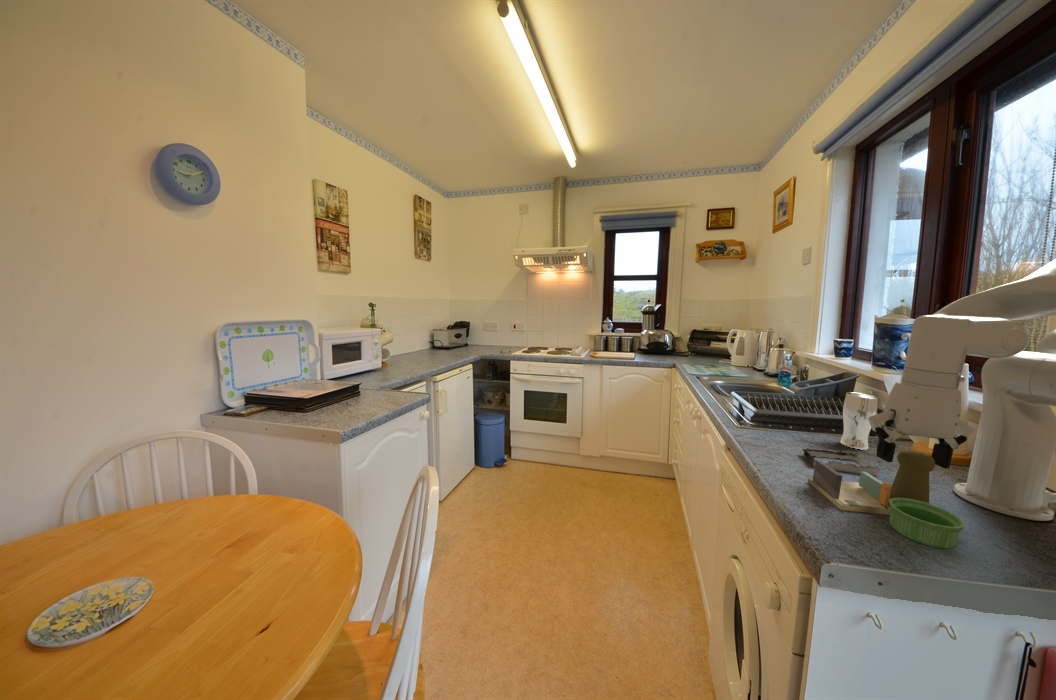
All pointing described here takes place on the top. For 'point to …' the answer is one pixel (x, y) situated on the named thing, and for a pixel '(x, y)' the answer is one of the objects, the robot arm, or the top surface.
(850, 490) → the stand
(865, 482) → the pad
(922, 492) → the cork
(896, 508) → the ramekin
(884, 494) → the ball-ended orange rod
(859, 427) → the beer glass
